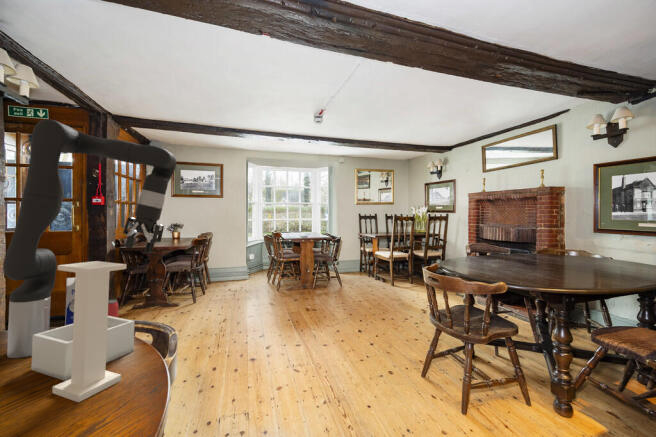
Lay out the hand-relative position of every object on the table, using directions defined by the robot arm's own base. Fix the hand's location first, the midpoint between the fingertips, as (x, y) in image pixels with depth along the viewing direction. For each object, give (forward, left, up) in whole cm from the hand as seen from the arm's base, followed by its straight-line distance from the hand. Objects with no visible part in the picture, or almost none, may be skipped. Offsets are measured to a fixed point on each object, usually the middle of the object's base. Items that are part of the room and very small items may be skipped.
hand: (138, 250), depth 97 cm
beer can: (-22, +6, -34) cm, 40 cm away
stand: (+10, -20, -33) cm, 40 cm away
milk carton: (-36, +4, -34) cm, 49 cm away
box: (-6, -11, -33) cm, 36 cm away
